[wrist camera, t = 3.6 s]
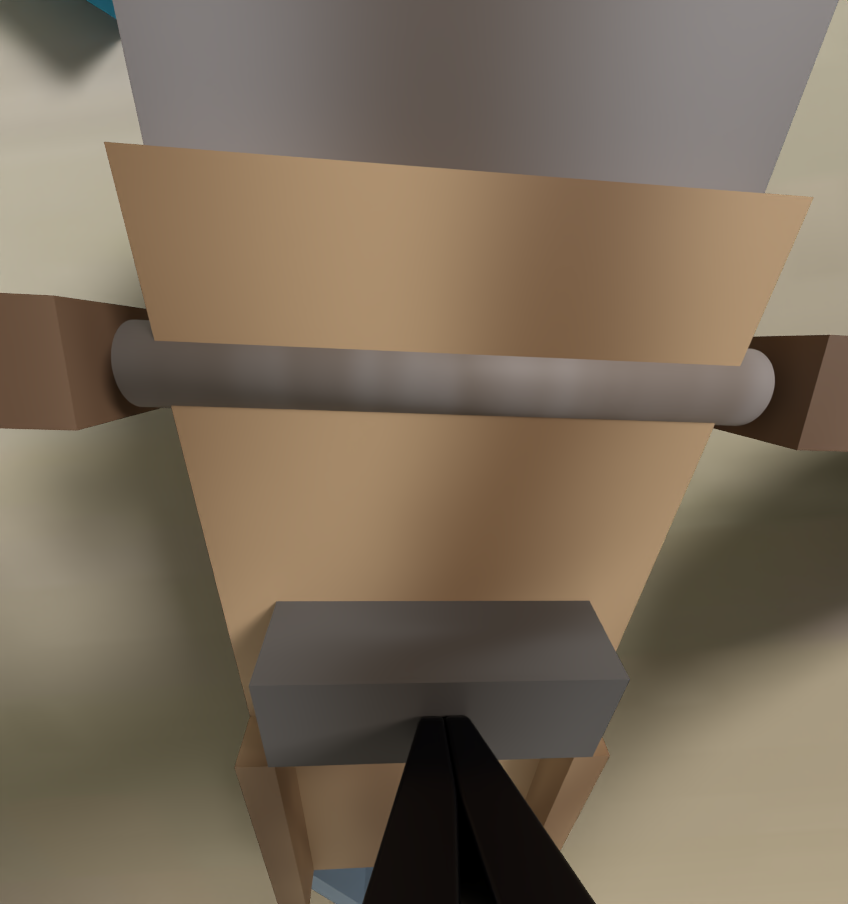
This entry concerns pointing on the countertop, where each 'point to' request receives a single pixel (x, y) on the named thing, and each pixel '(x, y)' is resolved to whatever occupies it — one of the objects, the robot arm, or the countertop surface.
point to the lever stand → (100, 401)
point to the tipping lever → (445, 355)
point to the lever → (104, 6)
